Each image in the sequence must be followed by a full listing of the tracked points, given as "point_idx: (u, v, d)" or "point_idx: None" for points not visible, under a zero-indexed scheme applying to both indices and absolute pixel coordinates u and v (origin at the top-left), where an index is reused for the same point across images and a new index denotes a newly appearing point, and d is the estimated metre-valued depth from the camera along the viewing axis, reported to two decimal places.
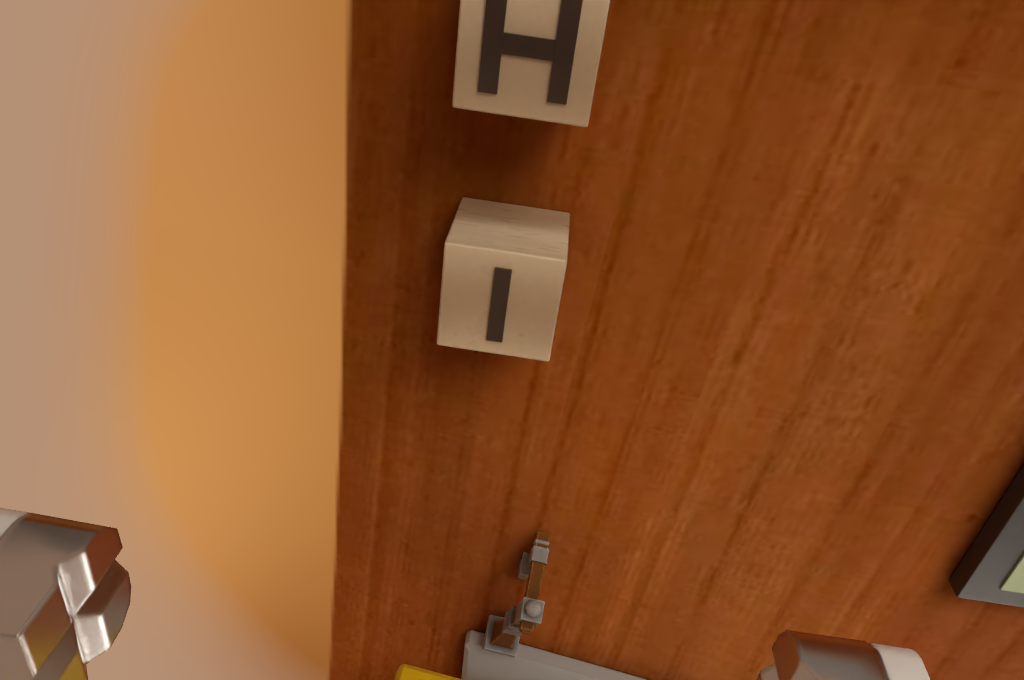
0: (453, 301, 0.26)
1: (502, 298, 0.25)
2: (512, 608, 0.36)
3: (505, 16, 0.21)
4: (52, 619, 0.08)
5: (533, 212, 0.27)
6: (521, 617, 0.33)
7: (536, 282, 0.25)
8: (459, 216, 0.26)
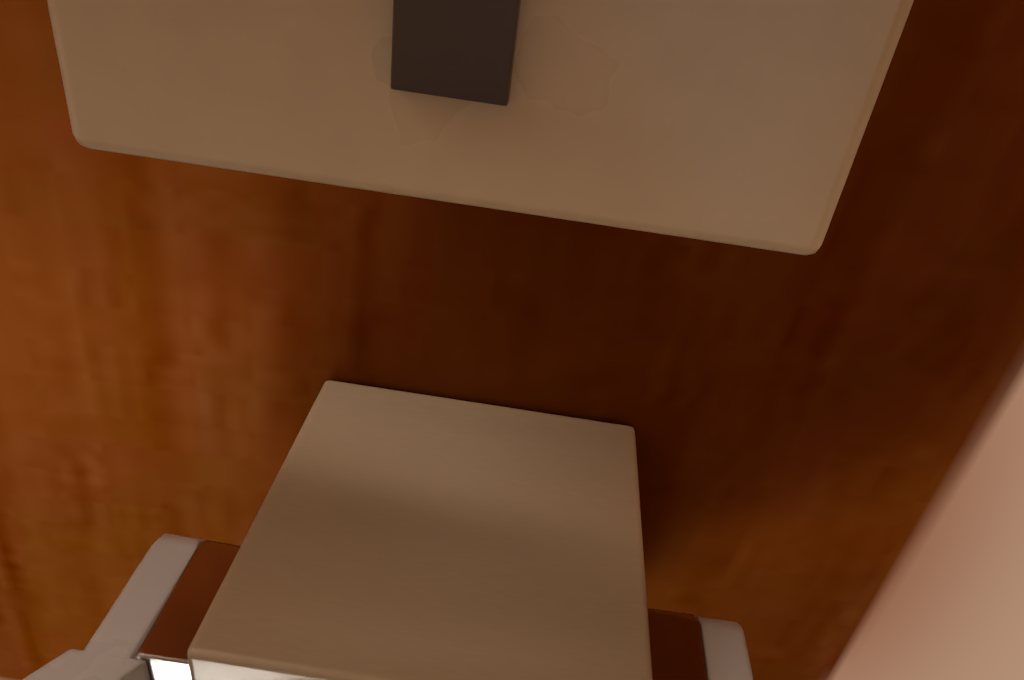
0: None
1: None
2: None
3: None
4: None
5: None
6: None
7: None
8: None
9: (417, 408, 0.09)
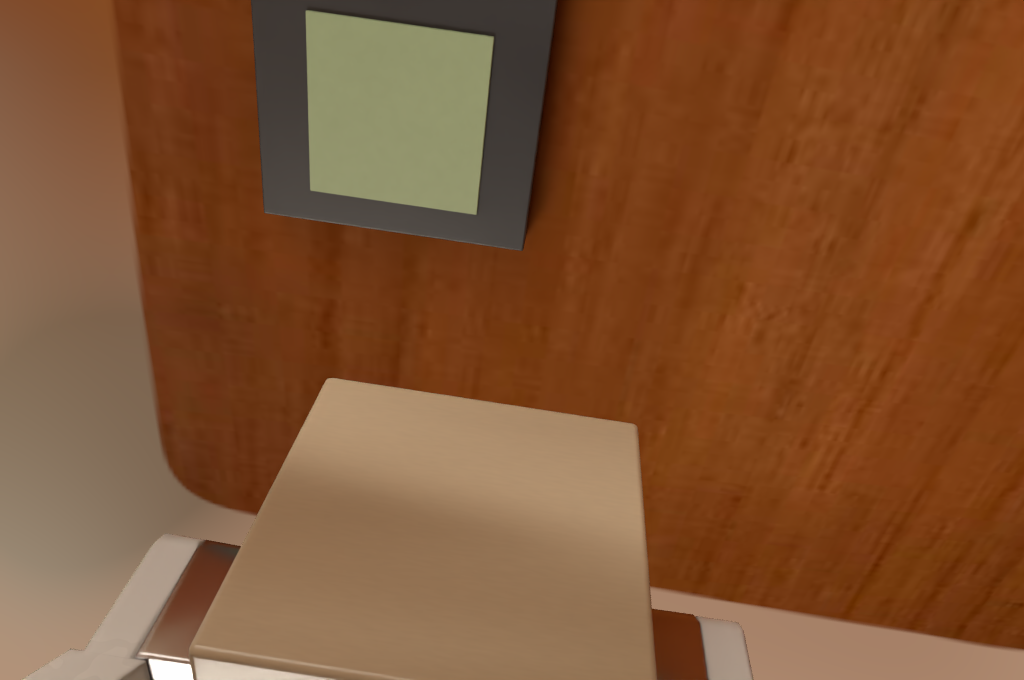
0: None
1: None
2: None
3: None
4: None
5: None
6: None
7: None
8: None
9: (420, 405, 0.09)
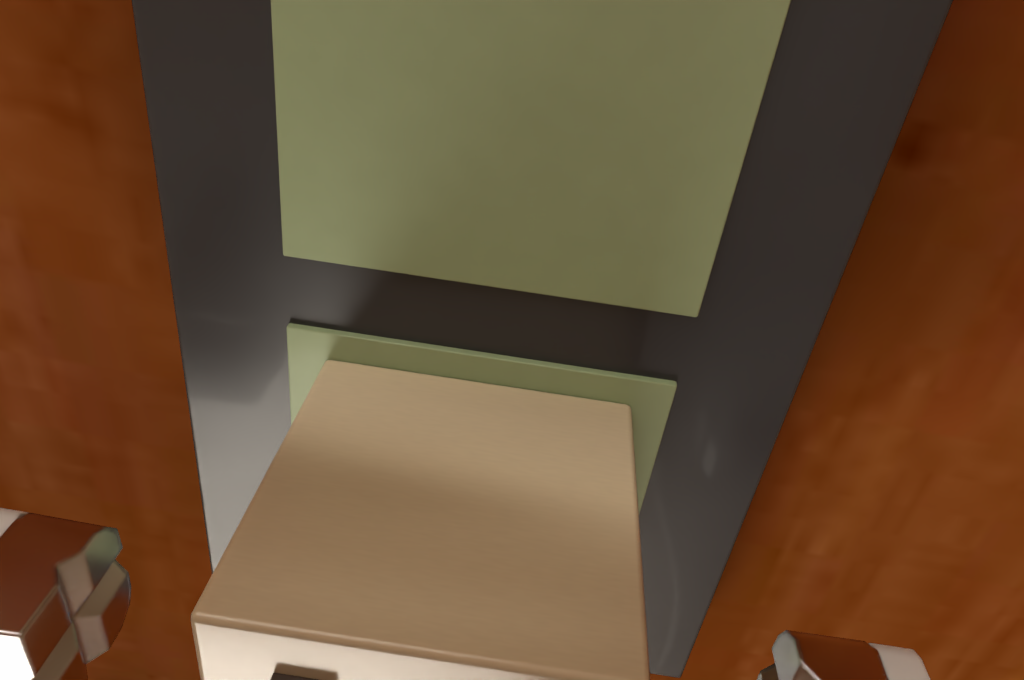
0: None
1: None
2: None
3: None
4: (52, 619, 0.08)
5: None
6: None
7: None
8: None
9: (416, 386, 0.10)
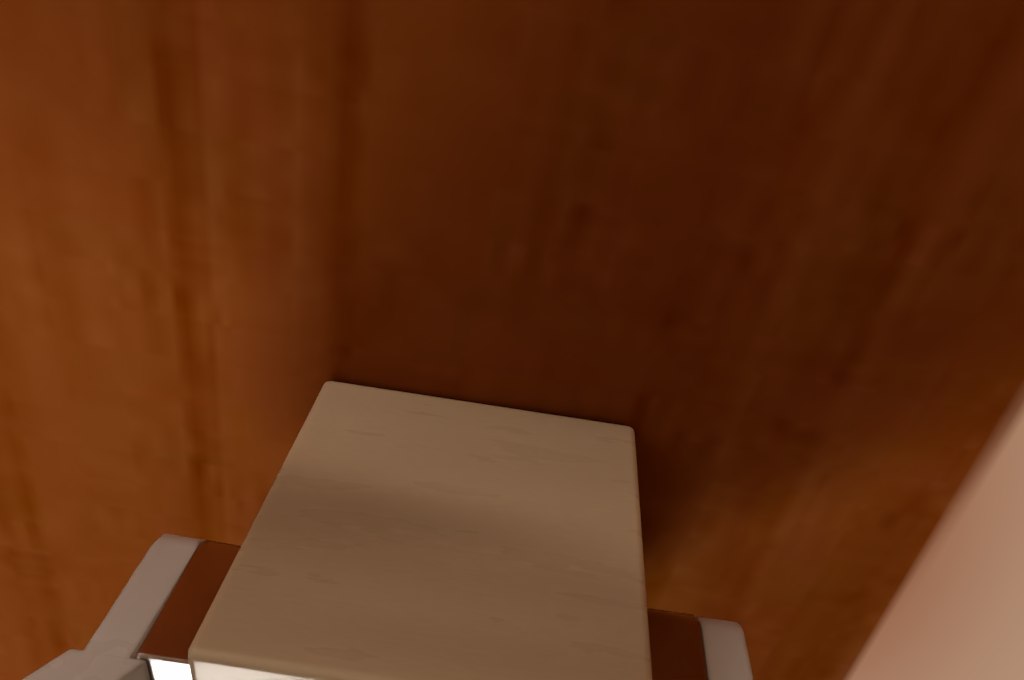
0: None
1: None
2: None
3: None
4: None
5: None
6: None
7: None
8: None
9: None
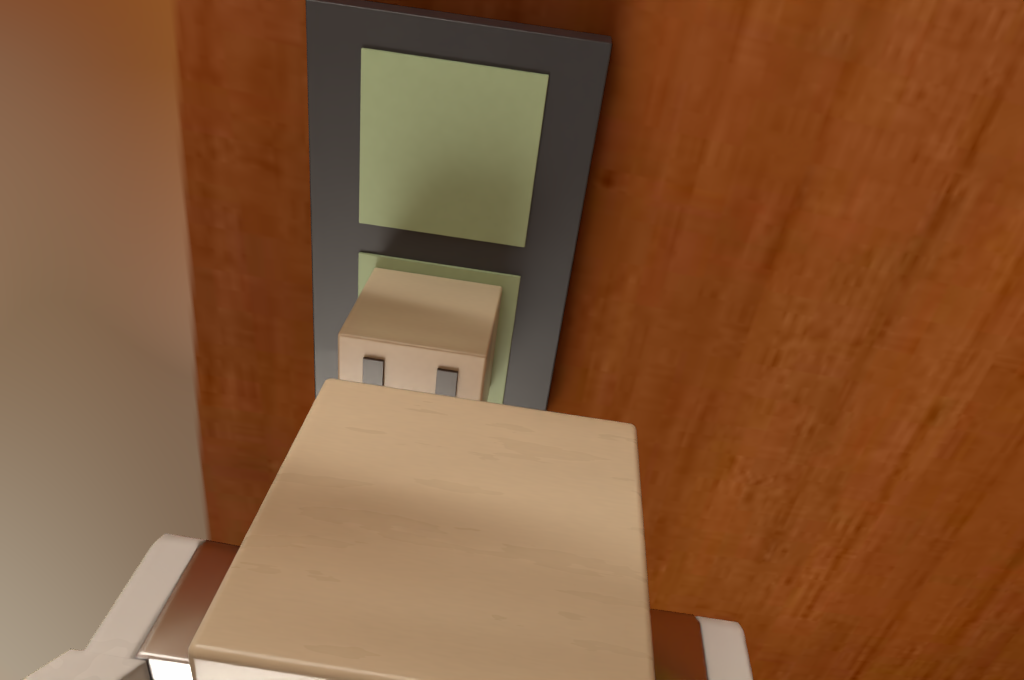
0: None
1: None
2: None
3: None
4: None
5: None
6: None
7: None
8: None
9: (412, 277, 0.23)
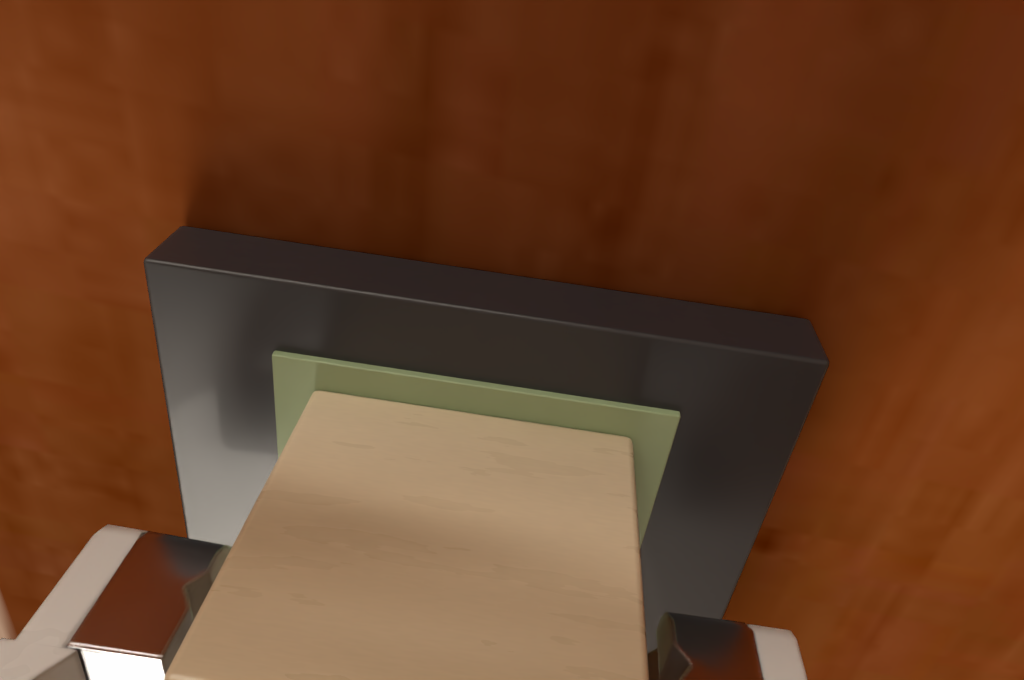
0: None
1: None
2: None
3: None
4: None
5: None
6: None
7: None
8: None
9: None
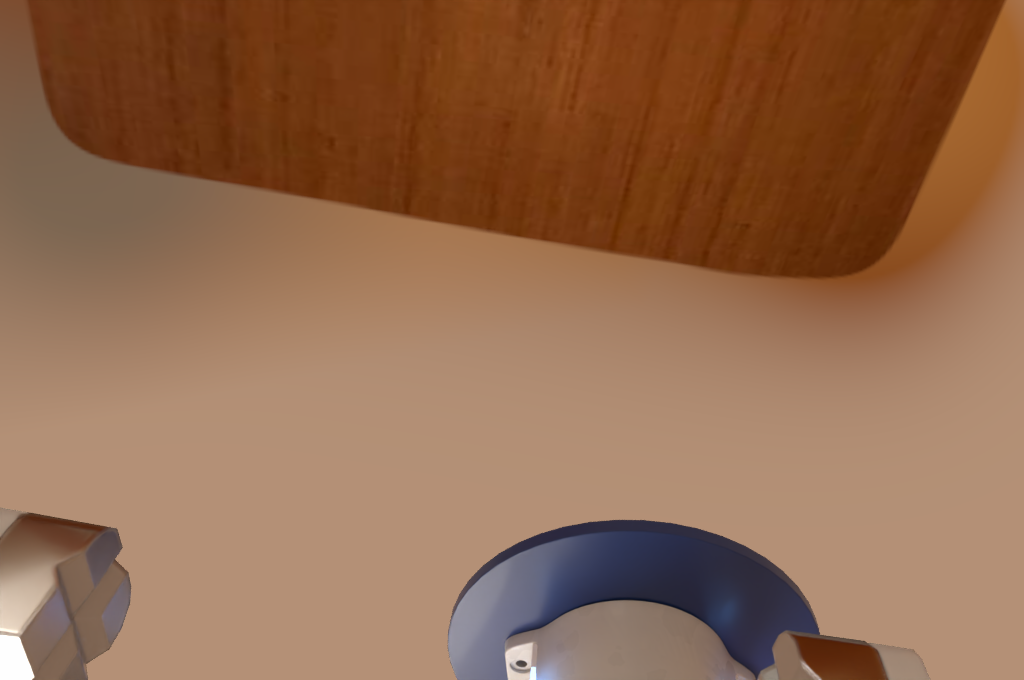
0: None
1: None
2: None
3: None
4: (52, 619, 0.08)
5: None
6: None
7: None
8: None
9: None
